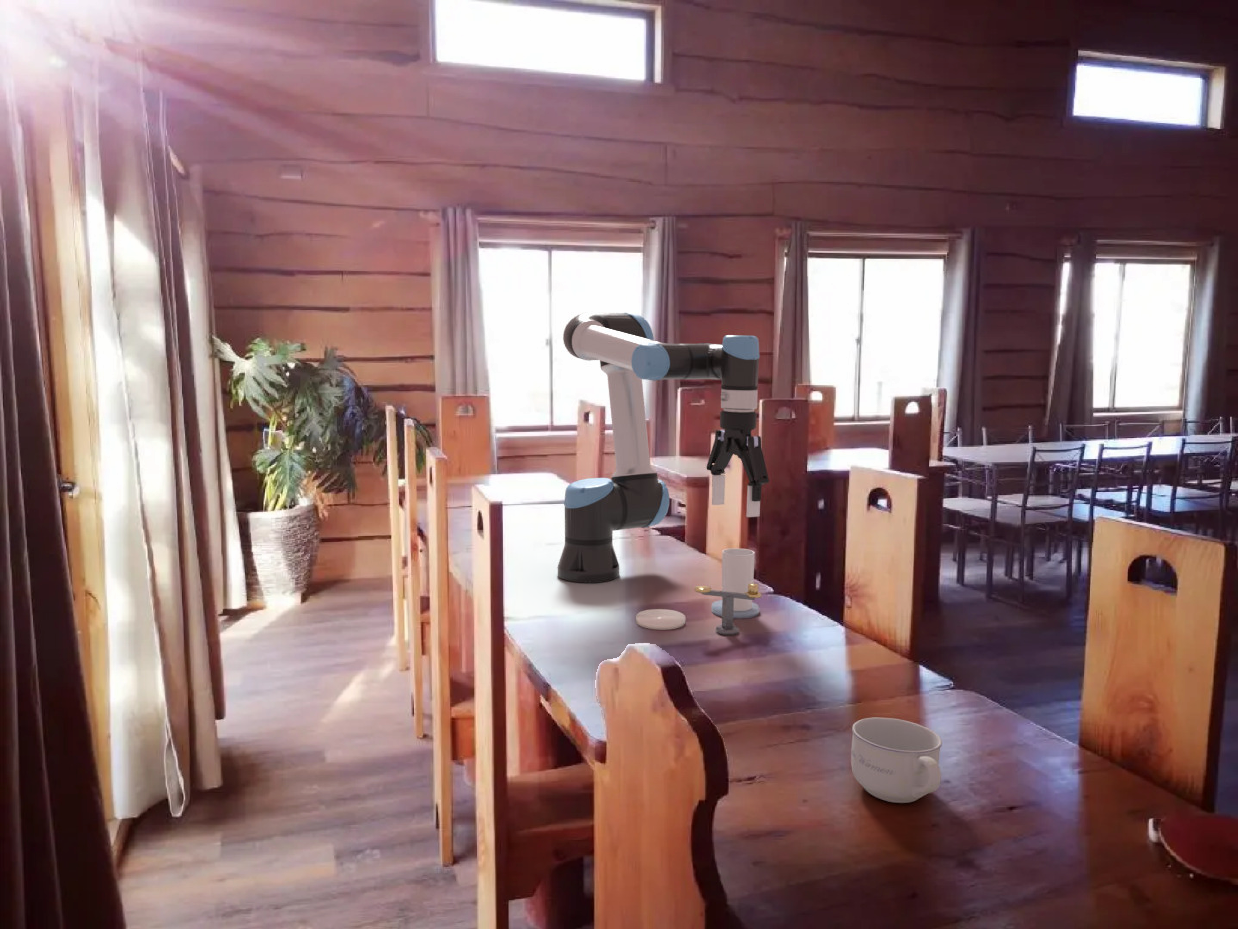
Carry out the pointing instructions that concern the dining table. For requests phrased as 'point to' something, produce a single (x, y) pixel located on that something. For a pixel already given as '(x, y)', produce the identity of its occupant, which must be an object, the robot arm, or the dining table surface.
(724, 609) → the balance
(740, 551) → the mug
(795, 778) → the dining table surface
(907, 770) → the teacup
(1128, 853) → the dining table surface
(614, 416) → the robot arm
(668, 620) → the dish cream
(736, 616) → the dish blue
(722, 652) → the dining table surface
